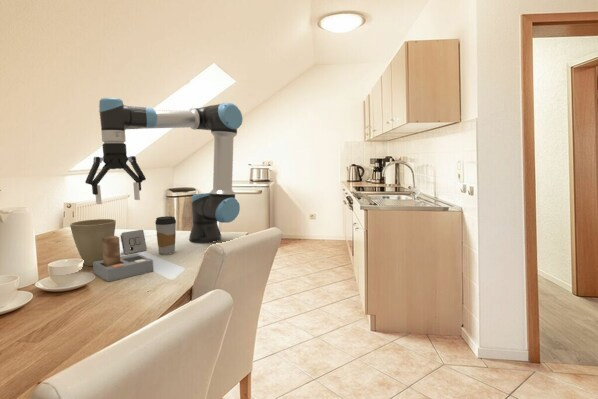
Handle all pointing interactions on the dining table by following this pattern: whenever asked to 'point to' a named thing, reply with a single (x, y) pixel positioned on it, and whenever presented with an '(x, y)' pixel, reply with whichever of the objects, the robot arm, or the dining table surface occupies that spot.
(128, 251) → the electrical switch
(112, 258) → the plug
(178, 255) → the dining table surface
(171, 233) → the coffee cup
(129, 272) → the grey compartment tray
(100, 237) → the plant pot
